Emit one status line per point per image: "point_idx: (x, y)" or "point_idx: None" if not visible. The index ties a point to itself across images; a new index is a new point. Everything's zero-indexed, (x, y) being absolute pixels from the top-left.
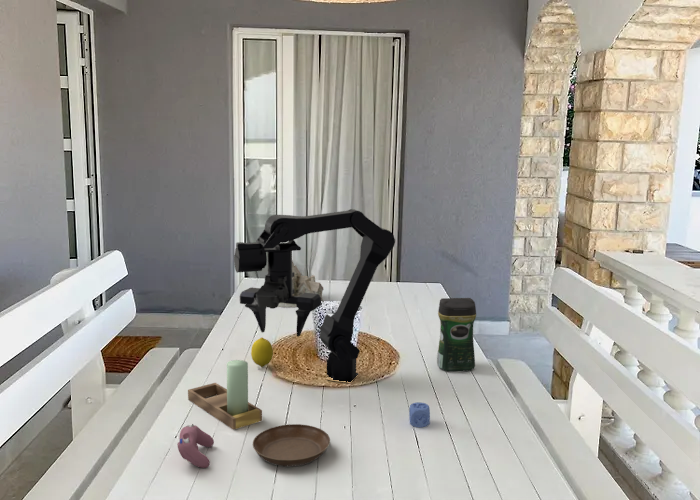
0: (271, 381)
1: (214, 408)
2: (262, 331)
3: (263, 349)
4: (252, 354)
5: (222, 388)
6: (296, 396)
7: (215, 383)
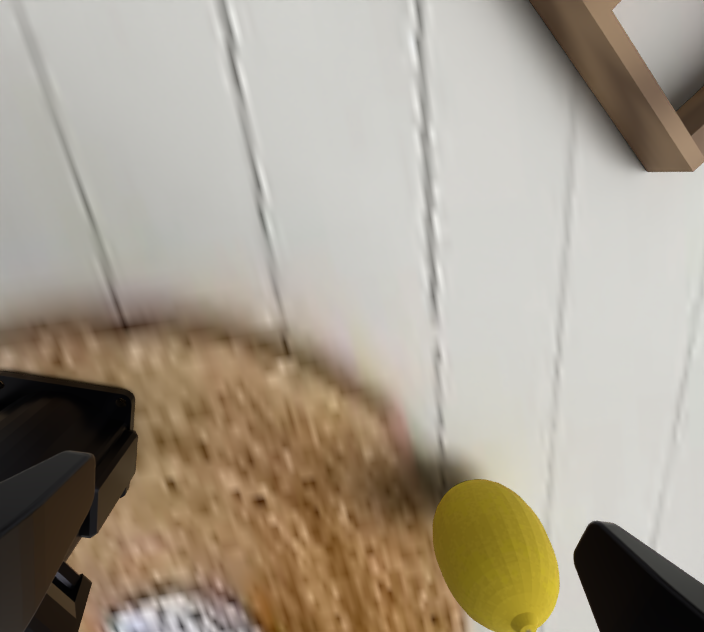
0: (394, 347)
1: None
2: (606, 528)
3: (490, 540)
4: (535, 516)
5: (650, 78)
6: (222, 171)
7: (692, 156)
